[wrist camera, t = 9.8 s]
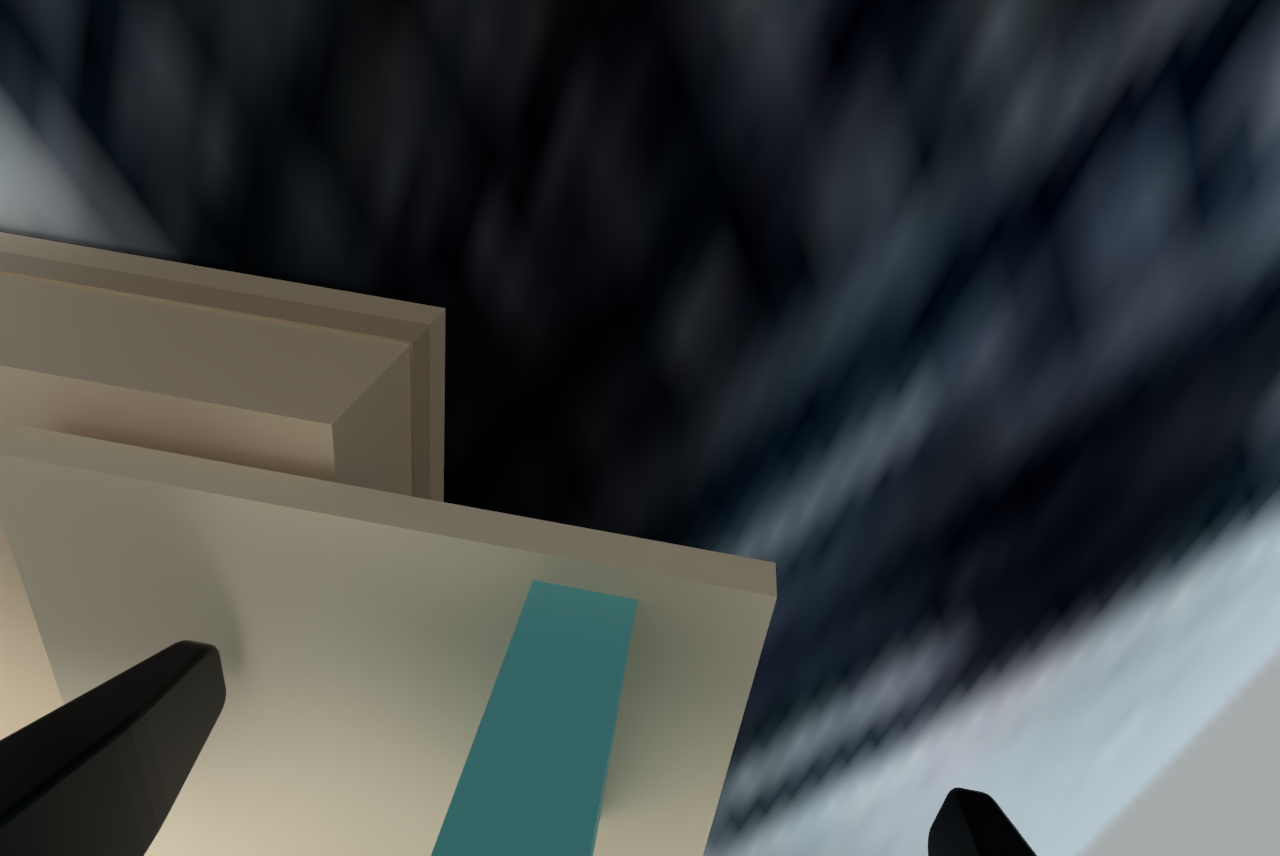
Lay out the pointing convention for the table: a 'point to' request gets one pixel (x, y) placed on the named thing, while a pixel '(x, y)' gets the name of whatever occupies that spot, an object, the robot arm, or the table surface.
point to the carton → (207, 388)
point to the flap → (394, 656)
